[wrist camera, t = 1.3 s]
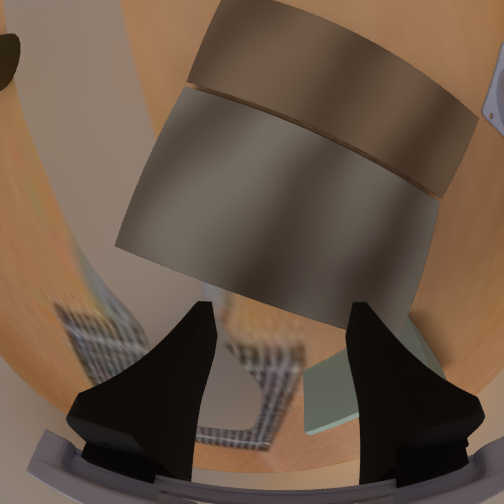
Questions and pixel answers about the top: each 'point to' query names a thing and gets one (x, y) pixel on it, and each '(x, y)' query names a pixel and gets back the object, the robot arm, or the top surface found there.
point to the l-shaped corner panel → (349, 384)
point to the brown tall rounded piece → (8, 58)
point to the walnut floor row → (336, 86)
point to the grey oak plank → (278, 214)
